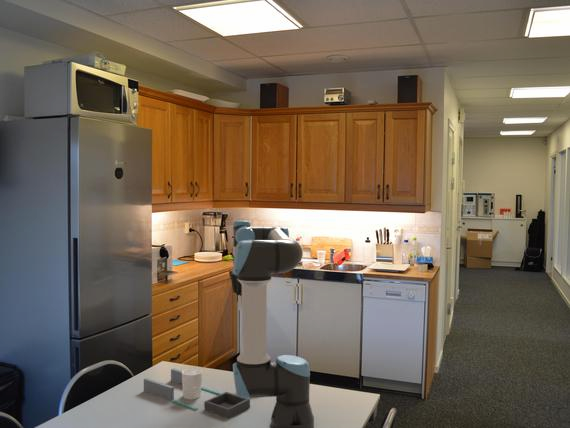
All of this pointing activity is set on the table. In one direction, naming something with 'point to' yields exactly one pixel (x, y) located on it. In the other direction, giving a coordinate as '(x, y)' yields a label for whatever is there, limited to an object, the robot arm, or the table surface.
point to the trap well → (226, 404)
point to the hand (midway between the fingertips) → (241, 309)
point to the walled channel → (163, 385)
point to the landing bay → (193, 406)
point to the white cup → (191, 383)
